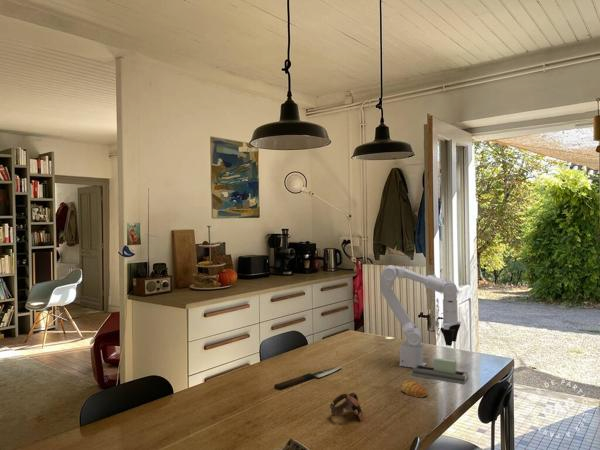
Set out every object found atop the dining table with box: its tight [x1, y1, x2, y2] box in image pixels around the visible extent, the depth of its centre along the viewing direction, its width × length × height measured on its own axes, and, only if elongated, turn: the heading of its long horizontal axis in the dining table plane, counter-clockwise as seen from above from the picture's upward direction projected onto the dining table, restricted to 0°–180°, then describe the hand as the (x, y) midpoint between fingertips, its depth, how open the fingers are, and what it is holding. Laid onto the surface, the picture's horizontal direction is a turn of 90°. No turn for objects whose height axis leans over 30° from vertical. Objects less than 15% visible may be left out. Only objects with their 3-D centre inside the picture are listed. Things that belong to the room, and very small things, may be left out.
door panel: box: [433, 357, 457, 374], centre depth 179 cm, size 8×2×6 cm, turn 58°
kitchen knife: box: [273, 366, 343, 391], centre depth 180 cm, size 36×2×5 cm
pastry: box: [401, 379, 428, 398], centre depth 163 cm, size 9×7×4 cm
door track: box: [411, 365, 469, 385], centre depth 180 cm, size 20×8×2 cm, turn 58°
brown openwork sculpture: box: [329, 392, 364, 423], centre depth 145 cm, size 12×10×8 cm
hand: (451, 343), depth 191 cm, fingers open, 7 cm apart
